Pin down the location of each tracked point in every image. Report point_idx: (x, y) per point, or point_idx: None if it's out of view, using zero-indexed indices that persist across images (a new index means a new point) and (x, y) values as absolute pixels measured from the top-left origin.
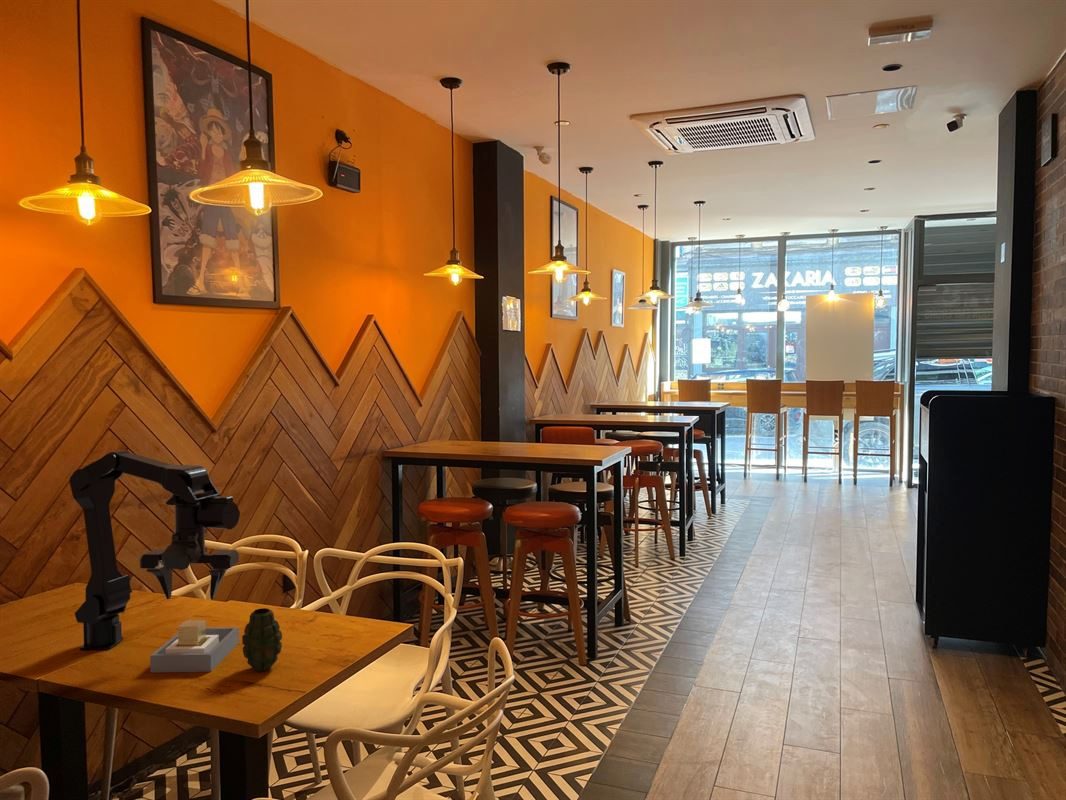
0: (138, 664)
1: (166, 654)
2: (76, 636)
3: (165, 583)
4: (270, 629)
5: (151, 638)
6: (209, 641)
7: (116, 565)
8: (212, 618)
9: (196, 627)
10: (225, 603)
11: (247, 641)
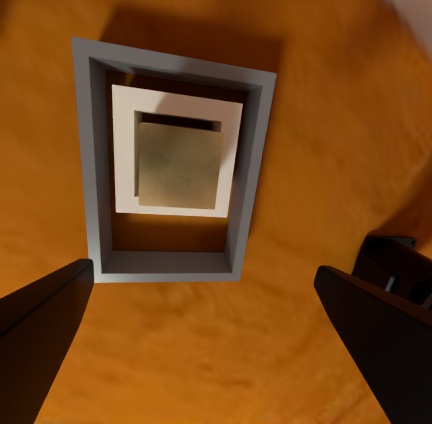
0: (297, 146)
1: (230, 71)
2: None
3: (412, 316)
4: None
5: (301, 287)
6: (121, 154)
7: None
8: (215, 375)
9: (145, 124)
10: None
11: None
